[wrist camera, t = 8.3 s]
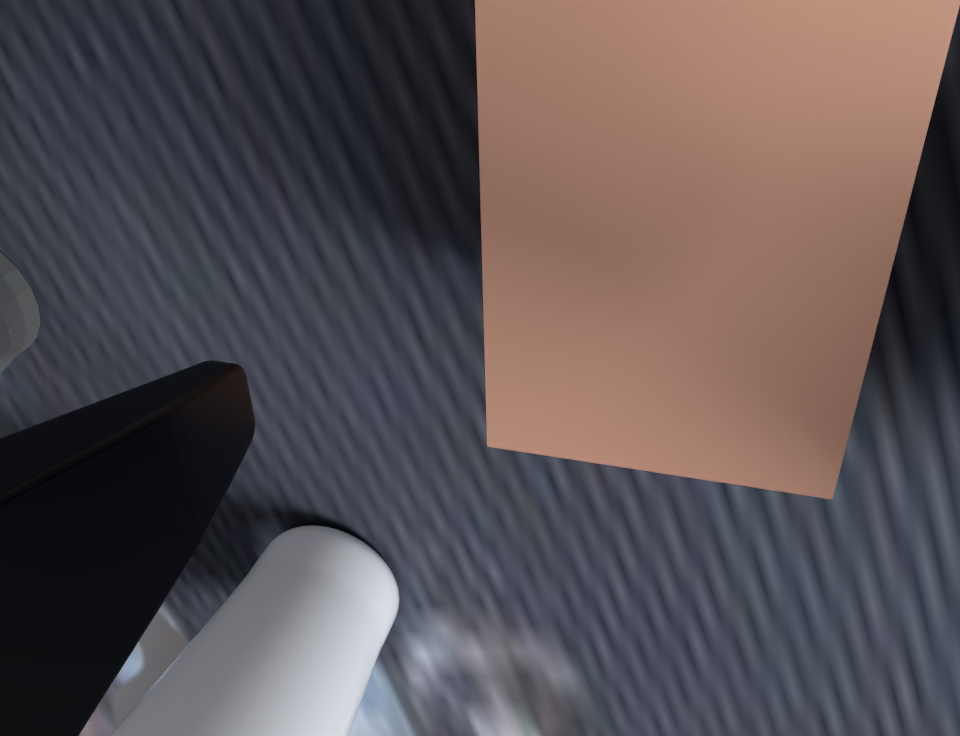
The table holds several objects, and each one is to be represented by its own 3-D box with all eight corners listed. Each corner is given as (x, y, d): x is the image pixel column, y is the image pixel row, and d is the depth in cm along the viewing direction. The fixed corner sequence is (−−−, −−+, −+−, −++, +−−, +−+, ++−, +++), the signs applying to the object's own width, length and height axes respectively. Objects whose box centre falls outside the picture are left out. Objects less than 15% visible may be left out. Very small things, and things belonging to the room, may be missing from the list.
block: (900, -93, 16) (975, -55, 10) (813, 319, 21) (832, 499, 15) (566, -88, 18) (473, -54, 12) (557, 292, 22) (486, 446, 17)
